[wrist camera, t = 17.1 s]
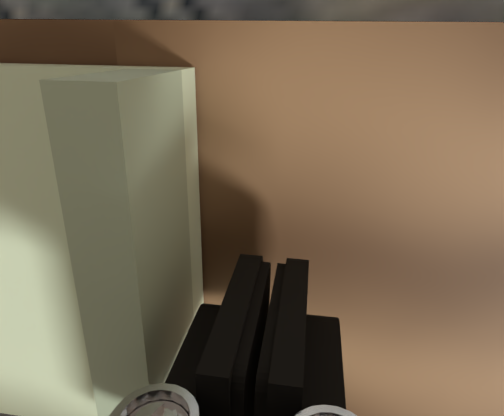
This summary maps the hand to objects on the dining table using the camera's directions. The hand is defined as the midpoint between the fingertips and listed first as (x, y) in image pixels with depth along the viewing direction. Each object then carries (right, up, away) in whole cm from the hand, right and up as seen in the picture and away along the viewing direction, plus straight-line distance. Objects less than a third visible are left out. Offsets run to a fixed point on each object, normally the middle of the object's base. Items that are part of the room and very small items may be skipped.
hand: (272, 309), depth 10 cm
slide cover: (-6, +1, +2) cm, 7 cm away
